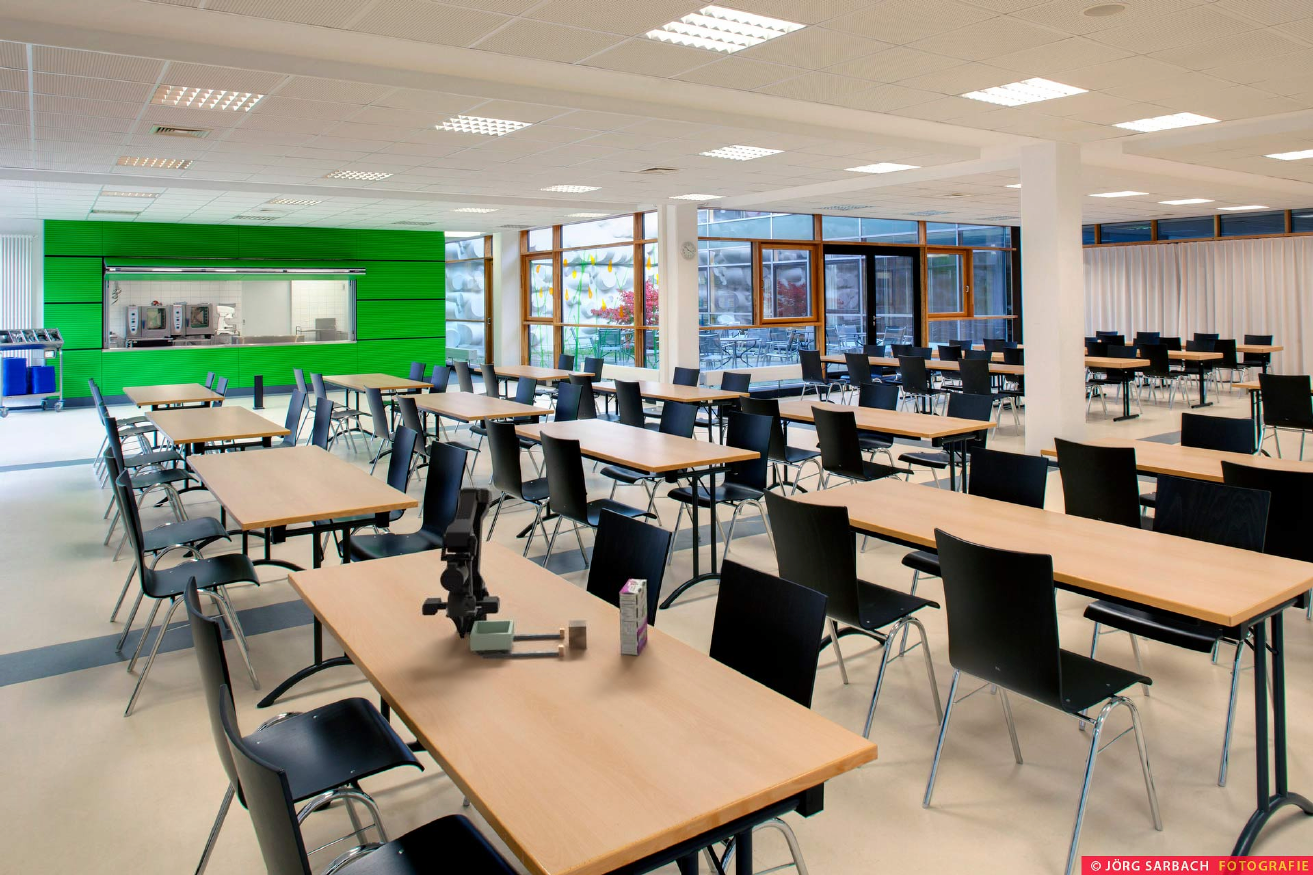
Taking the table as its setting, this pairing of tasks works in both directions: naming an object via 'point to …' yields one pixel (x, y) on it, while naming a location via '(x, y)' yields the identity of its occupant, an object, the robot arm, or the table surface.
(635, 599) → the candy bar box
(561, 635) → the rails
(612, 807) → the table surface
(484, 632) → the sage green storage bin
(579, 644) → the walnut block
